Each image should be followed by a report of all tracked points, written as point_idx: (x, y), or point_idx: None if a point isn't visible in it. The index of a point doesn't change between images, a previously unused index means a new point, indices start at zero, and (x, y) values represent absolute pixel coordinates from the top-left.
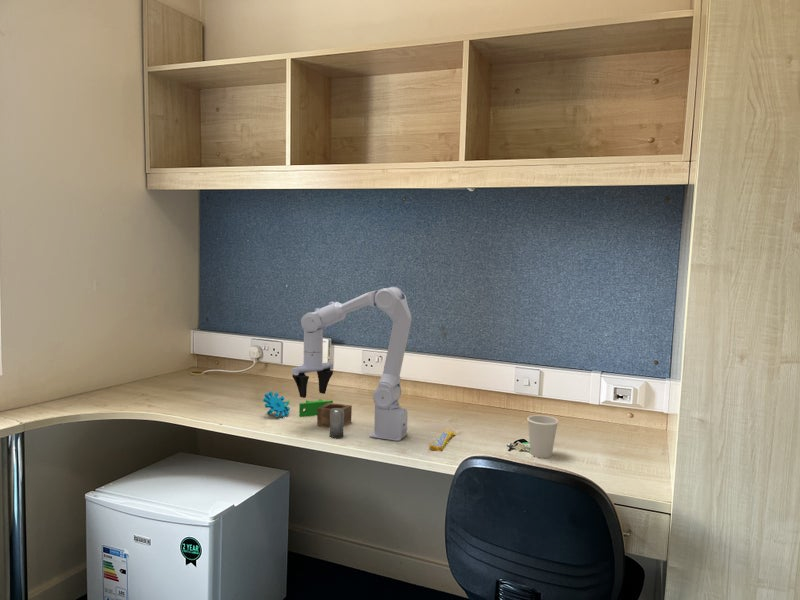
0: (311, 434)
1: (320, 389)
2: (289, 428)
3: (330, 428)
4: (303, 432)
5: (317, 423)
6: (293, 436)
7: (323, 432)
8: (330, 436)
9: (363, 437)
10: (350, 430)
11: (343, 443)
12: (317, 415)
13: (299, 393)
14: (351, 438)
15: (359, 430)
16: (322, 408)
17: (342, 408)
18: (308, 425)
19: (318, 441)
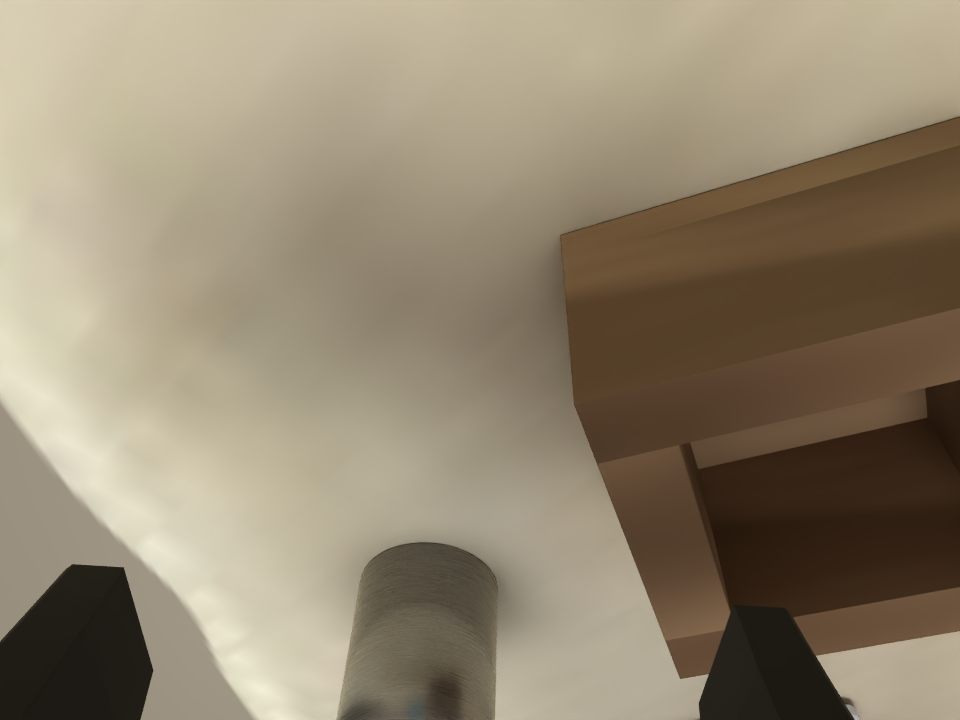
0: (265, 413)
1: (746, 715)
2: (157, 40)
3: (348, 653)
4: (229, 308)
5: (564, 257)
6: (40, 335)
7: (421, 448)
8: (360, 583)
9: (582, 712)
10: None
11: None
12: (569, 327)
13: (14, 635)
14: None
15: None
16: (632, 458)
17: (835, 621)
18: (488, 131)
19: (194, 574)
